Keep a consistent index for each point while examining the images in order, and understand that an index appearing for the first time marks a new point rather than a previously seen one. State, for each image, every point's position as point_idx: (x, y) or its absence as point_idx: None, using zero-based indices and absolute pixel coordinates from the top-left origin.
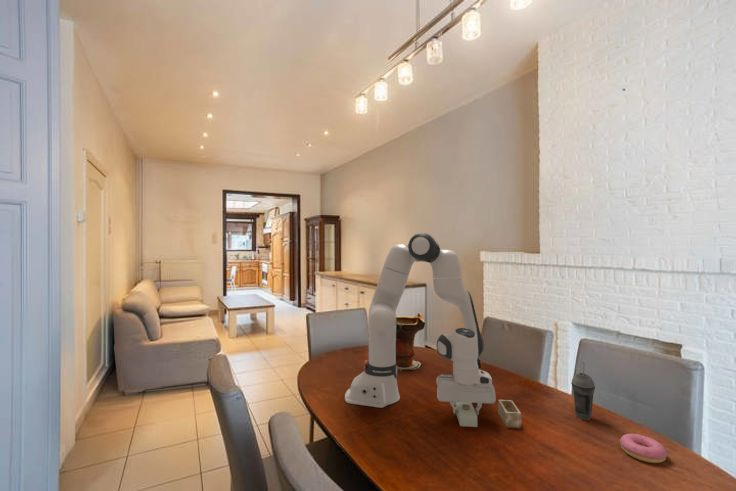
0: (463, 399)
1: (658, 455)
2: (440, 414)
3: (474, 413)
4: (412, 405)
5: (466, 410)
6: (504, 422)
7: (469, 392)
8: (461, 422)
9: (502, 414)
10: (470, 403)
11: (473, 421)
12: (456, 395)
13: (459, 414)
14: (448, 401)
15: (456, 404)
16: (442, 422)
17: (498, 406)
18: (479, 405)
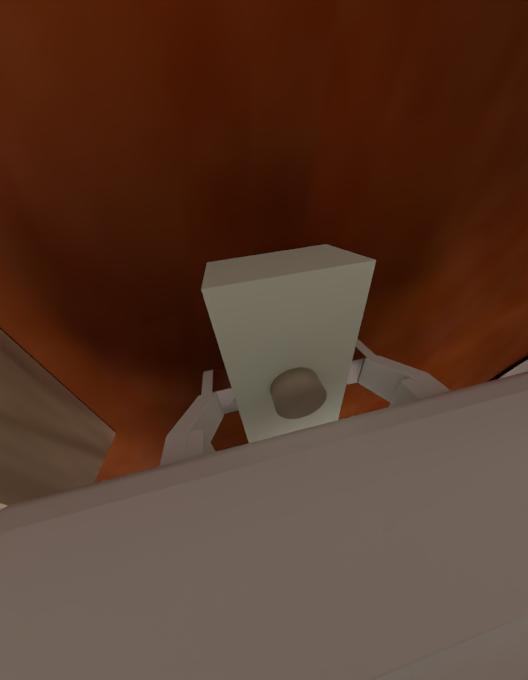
0: (379, 447)
1: None
2: (389, 343)
3: (232, 340)
4: (461, 371)
5: (294, 364)
6: (5, 356)
7: (366, 651)
8: (329, 250)
9: (24, 418)
10: (257, 440)
11: (238, 266)
12: (514, 479)
13: (365, 291)
14: (491, 382)
15: (340, 407)
16: (416, 265)
17: (94, 471)
18: (188, 434)
